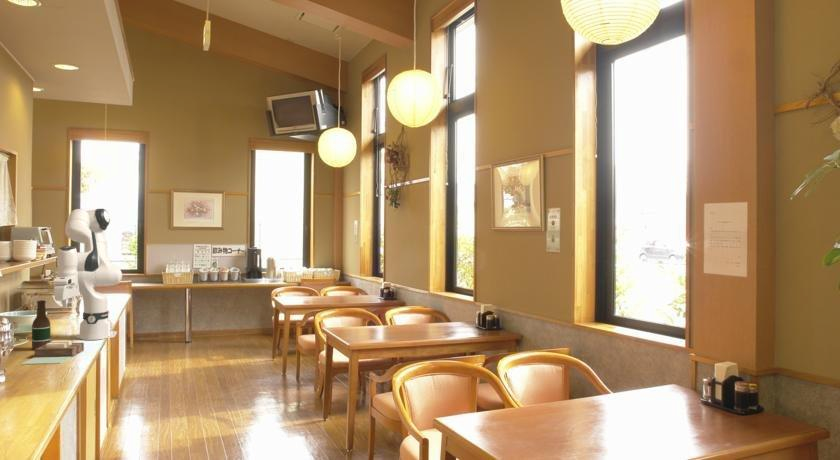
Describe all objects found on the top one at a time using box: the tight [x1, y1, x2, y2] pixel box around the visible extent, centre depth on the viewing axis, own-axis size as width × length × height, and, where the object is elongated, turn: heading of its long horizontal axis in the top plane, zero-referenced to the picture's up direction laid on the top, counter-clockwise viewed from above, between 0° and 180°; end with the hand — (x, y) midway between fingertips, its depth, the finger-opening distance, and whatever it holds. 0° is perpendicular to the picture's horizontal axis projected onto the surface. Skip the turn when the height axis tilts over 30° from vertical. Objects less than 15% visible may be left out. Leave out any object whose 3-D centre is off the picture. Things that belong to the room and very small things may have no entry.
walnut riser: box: [34, 342, 85, 358], centre depth 282 cm, size 14×16×4 cm
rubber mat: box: [21, 357, 72, 366], centre depth 269 cm, size 12×16×1 cm
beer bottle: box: [31, 299, 51, 351], centre depth 293 cm, size 8×8×24 cm
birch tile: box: [46, 339, 73, 348], centre depth 281 cm, size 8×8×2 cm
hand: (67, 307), depth 290 cm, fingers open, 4 cm apart
